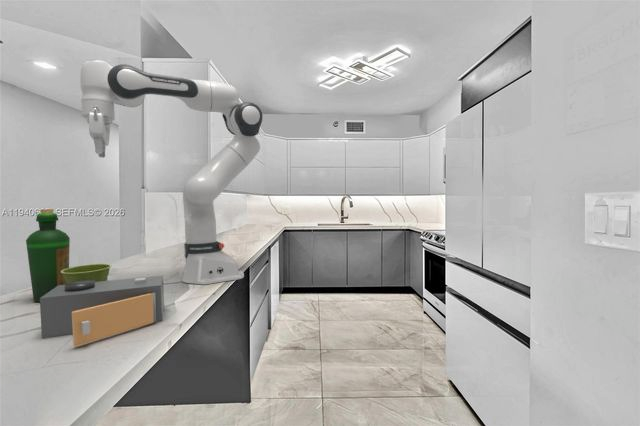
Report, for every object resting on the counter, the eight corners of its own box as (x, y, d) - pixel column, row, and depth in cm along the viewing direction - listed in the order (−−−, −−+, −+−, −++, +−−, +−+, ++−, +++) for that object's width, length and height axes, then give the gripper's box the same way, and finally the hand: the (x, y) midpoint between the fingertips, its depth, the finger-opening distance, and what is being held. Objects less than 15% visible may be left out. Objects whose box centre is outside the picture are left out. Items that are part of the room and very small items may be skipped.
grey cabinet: (164, 306, 93) (162, 271, 93) (162, 321, 82) (160, 280, 82) (60, 320, 84) (58, 280, 83) (41, 338, 73) (39, 292, 72)
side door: (155, 320, 81) (153, 292, 81) (159, 322, 80) (158, 293, 80) (73, 345, 68) (71, 311, 68) (77, 348, 66) (75, 313, 66)
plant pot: (59, 307, 95) (57, 268, 94) (107, 298, 103) (105, 262, 102) (66, 317, 86) (64, 274, 86) (118, 306, 95) (116, 267, 94)
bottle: (79, 296, 105) (74, 208, 104) (37, 306, 96) (32, 210, 95) (63, 292, 111) (59, 208, 109) (22, 300, 101) (17, 210, 100)
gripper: (107, 105, 99) (109, 151, 100) (112, 120, 117) (113, 159, 118) (81, 103, 96) (84, 150, 97) (90, 118, 114) (92, 158, 115)
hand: (100, 155), depth 108 cm, fingers open, 8 cm apart
